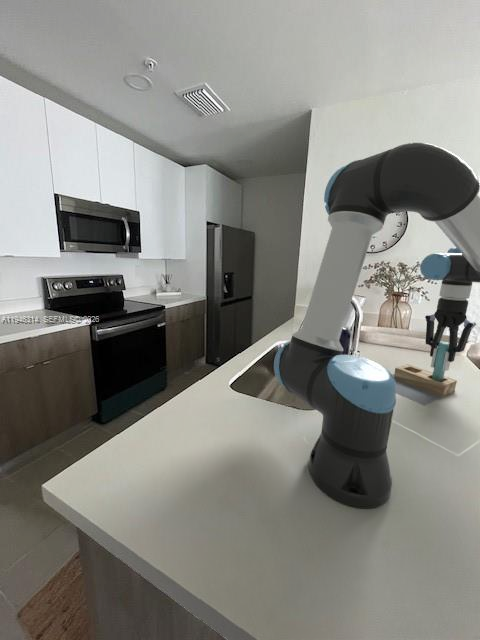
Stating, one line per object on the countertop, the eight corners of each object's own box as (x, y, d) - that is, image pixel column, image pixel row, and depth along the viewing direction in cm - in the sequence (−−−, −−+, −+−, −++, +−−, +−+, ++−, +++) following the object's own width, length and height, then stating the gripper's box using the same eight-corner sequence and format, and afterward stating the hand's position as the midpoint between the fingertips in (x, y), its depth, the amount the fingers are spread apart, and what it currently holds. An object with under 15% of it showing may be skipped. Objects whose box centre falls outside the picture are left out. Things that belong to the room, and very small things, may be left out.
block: (442, 397, 87) (445, 385, 86) (393, 377, 100) (395, 367, 99) (454, 391, 91) (456, 380, 90) (405, 373, 104) (407, 364, 103)
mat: (424, 406, 81) (424, 405, 81) (369, 382, 97) (370, 381, 96) (455, 392, 91) (455, 391, 91) (402, 372, 106) (402, 371, 106)
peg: (439, 385, 90) (447, 345, 87) (429, 382, 92) (437, 342, 89) (443, 383, 91) (452, 344, 88) (433, 380, 94) (441, 341, 91)
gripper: (490, 301, 80) (473, 375, 86) (432, 294, 94) (420, 358, 99) (479, 302, 77) (462, 379, 82) (420, 295, 90) (408, 362, 95)
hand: (439, 368), depth 90 cm, fingers closed on peg, 3 cm apart
